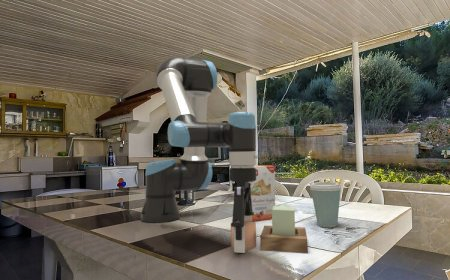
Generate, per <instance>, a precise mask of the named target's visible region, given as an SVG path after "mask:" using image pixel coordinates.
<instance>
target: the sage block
mask: <svg viewBox="0 0 450 280" xmlns="http://www.w3.org/2000/svg"><path fill="white" fill-rule="evenodd" d="M295 210H296V209H295V206H282V205H275V206H273V209H272V219H271V226H272V235H286V236H295V227H296V222H295V221H296V220H295V219H296V218H295V216H296V215H295Z"/></svg>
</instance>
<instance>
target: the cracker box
mask: <svg viewBox="0 0 450 280" xmlns="http://www.w3.org/2000/svg"><path fill="white" fill-rule="evenodd" d="M254 168H255V169H256V181H253V182H248V183H250V184H251V200H252V209H253V211H252V212H254V215H250V216H252V222H257V221H264V220H265V221H267V220H272V209H273V206H276V166H275V165H255V166H254Z"/></svg>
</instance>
